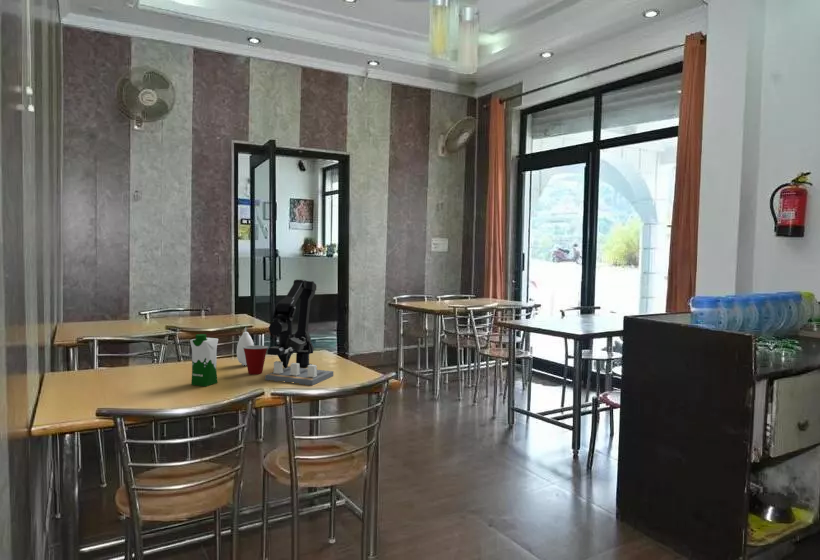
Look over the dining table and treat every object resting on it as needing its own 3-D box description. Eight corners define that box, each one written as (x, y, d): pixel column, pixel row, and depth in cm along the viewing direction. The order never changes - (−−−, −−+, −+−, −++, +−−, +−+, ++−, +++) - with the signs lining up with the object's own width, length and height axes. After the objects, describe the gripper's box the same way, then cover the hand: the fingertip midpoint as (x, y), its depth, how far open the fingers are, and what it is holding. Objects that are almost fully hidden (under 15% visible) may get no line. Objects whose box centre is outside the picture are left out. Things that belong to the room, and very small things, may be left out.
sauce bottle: (233, 366, 257) (233, 327, 256) (244, 363, 264) (244, 324, 263) (247, 367, 254) (247, 328, 253) (258, 364, 261) (258, 326, 260)
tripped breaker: (277, 371, 238) (277, 360, 237) (283, 372, 237) (283, 361, 236) (273, 373, 235) (273, 362, 234) (279, 373, 234) (279, 362, 233)
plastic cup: (271, 370, 249) (272, 344, 248) (263, 376, 238) (263, 348, 238) (248, 369, 250) (248, 343, 249) (238, 375, 239) (238, 347, 239)
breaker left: (310, 375, 232) (310, 364, 232) (317, 376, 231) (317, 364, 231) (307, 376, 229) (307, 365, 229) (313, 377, 228) (313, 366, 228)
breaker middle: (293, 373, 235) (293, 362, 235) (300, 374, 234) (300, 363, 234) (289, 374, 232) (290, 363, 232) (296, 375, 231) (296, 364, 231)
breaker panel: (288, 371, 249) (288, 366, 249) (333, 375, 242) (333, 371, 242) (265, 380, 232) (265, 375, 232) (312, 385, 225) (312, 380, 225)
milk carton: (187, 385, 221) (187, 334, 220) (203, 380, 230) (203, 331, 229) (206, 387, 218) (206, 336, 217) (221, 382, 227) (221, 333, 226)
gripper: (290, 336, 228) (290, 374, 229) (313, 329, 246) (313, 365, 247) (266, 334, 232) (266, 371, 233) (291, 328, 250) (290, 362, 251)
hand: (285, 367), depth 241 cm, fingers closed
